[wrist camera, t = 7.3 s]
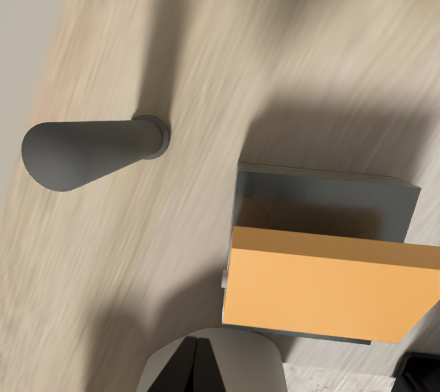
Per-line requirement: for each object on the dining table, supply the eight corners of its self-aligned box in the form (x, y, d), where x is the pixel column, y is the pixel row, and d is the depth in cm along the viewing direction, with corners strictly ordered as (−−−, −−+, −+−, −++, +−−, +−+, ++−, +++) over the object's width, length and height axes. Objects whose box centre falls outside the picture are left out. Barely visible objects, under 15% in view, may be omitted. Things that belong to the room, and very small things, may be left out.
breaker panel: (392, 176, 18) (436, 193, 14) (352, 315, 22) (378, 359, 18) (237, 162, 19) (237, 174, 15) (223, 300, 22) (220, 340, 18)
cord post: (170, 117, 18) (94, 117, 8) (169, 159, 19) (100, 203, 9) (127, 113, 18) (6, 109, 9) (128, 156, 19) (19, 195, 9)
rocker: (450, 248, 13) (472, 273, 12) (390, 319, 17) (401, 343, 16) (227, 225, 14) (225, 247, 12) (219, 300, 18) (217, 322, 17)
